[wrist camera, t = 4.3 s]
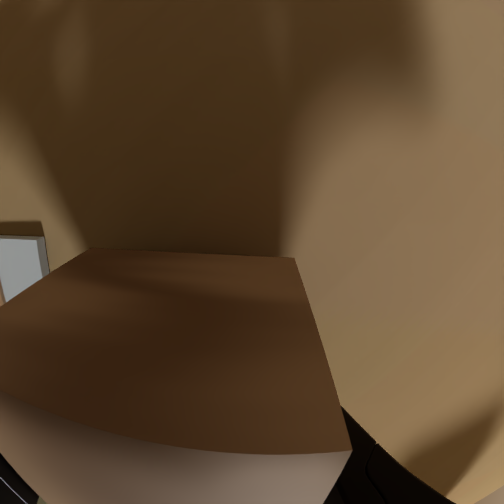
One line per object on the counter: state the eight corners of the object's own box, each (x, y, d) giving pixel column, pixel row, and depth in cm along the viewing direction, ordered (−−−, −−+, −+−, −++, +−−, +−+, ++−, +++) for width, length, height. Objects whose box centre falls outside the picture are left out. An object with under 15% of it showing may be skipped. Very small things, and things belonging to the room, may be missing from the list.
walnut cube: (121, 395, 10) (62, 517, 4) (91, 247, 8) (-60, 353, 2) (276, 412, 10) (281, 561, 4) (294, 257, 8) (353, 449, 2)
